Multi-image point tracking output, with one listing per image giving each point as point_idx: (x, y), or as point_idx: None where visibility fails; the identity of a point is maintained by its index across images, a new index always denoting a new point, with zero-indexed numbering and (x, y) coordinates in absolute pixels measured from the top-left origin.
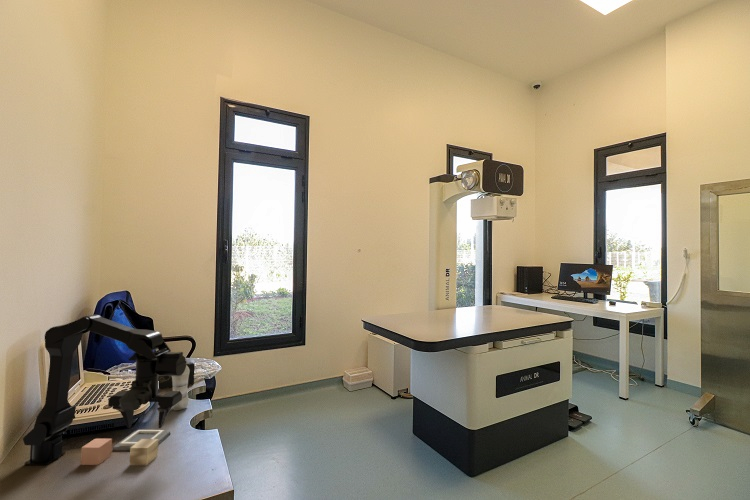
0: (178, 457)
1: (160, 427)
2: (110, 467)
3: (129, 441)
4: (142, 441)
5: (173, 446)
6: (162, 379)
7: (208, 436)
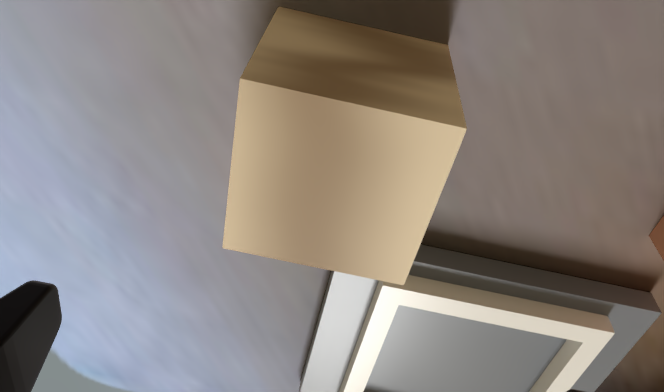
0: (52, 81)
1: (22, 292)
2: (619, 40)
3: (547, 352)
4: (374, 237)
5: (196, 247)
6: None
7: None
